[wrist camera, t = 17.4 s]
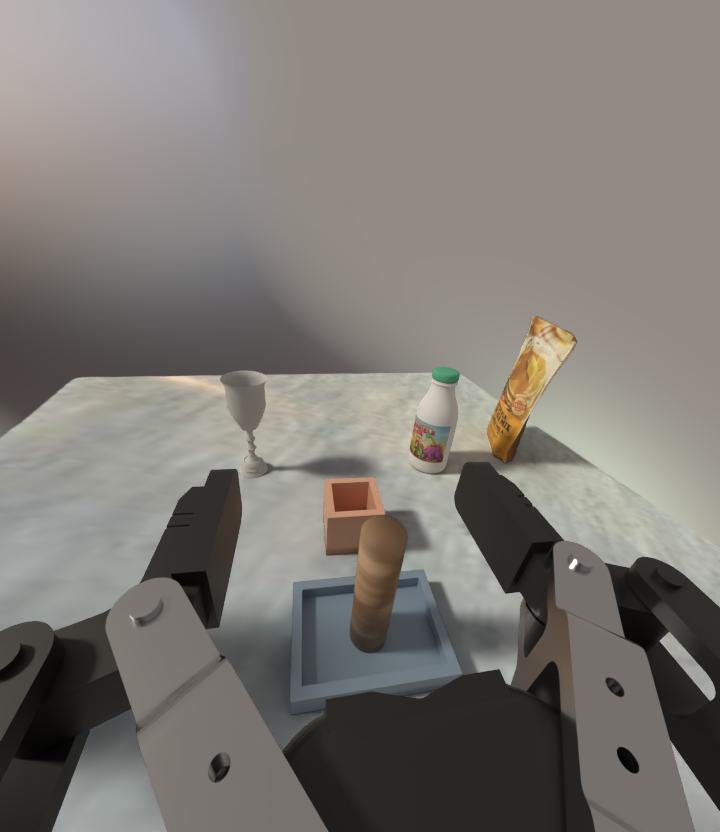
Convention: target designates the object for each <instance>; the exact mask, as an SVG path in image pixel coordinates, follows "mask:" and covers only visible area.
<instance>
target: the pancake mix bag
mask: <svg viewBox="0 0 720 832" xmlns="http://www.w3.org/2000/svg"><path fill="white" fill-rule="evenodd" d="M576 343H577V340H576V338H575V336H574V335H573V334H572V333H571V332H569V331H567V330H565V329H563V328H560V327H559V326H557V325H556V324H554V323H552V322H550V321H548V320H545V319H543V318H540V317H537V316H536V317H533V318H531V322H530V326H529V329H528V332H527V335H526V337H525V340H524V343H523V345H522V348H521V350H520V353H519V355H518V358H517V360H516V364H515V366H514V368H513V370H512V373H511V375H510V377H509V379H508V381H507V383H506V386H505V388H504V391H503V393H502V395H501V398H500V400H499V402H498V404H497V407H496V409H495V411H494V414H493V416H492V418H491V420H490V422H489V425H488V431H487V434H488V437H489V441H490V444H491V448H492V452H493V454H494V456H495V457H498V458H500V459H502V460H503V462H504V463H506V462H509V461H512V460H513V458H514V456H515V453H516V449H517V447H518V444H519V442H520V439H521V436H522V434H523V432H524V429H525V426H526V423H527V421H528V418H529V416H530V413H531V411H532V410H533V408H534V407H535V405H536V403H537V401H538V400H539V398H540V397H541V396H542V394H543V393H544V391H545V390H546V388H547V386H548V385H549V383H550V382H551V380H552V378H553V377H554V375H555V374H556V373H557V371H558V370H559V368H560V367H561V366H562V365H563V363H564V362H565V361H566V360H567V358H568V357H569V355H570V354H571V352H572V351H573V349H574V347H575V345H576Z"/></svg>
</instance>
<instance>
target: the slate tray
mask: <svg viewBox="0 0 720 832" xmlns="http://www.w3.org/2000/svg"><path fill="white" fill-rule="evenodd" d="M355 579H356V576H352V577H342V578H332V579H322V580H312V581H302V582H293V613H292V646H291V680H290V713H291V715H294V714H300V713H305V712H311V711H317V710H323V709H325V701H326V699H331V698H337V697H343V696H348V695H354V694H360V693H366V692H371V691H373V692H379V693H385V694H391V695H397V696H404V695H409V694H415V693H421V692H427V691H433V690H438V689H439V688H441V687H443V686H444V685H446V684H448V683H449V682H451V681H453V680H454V679H456V678H458V677H459V676H462V671H461V668H460V666H459V663H458V660H457V658H456V655H455V652H454V650H453V647H452V644H451V642H450V639H449V636H448V634H447V631H446V628H445V626H444V623H443V620H442V618H441V615H440V612H439V610H438V607H437V604H436V602H435V599H434V596H433V593H432V591H431V588H430V585H429V583H428V580H427V577H426V575H425V572H424V569H422V570H412V571H402V572H400V576H399V581H398V586H397V590H396V595H395V600H394V604H393V609H392V614H391V618H390V623H389V628H388V632H387V637H386V641H385V644H384V645H383V647H382V648H381V649H380V650H378V651H377V652H374V653H364V652H362V651H360V650H358V649H357V648H356V647H355V646H354V644H353V643H352V641H351V638H350V623H351V614H352V605H353V596H354V587H355Z"/></svg>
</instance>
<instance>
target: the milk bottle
mask: <svg viewBox="0 0 720 832" xmlns="http://www.w3.org/2000/svg"><path fill="white" fill-rule="evenodd" d="M459 375H460V374H459V372H458V371H456V370H455V369H452V368H448V367H436V368H434V370H433V373H432V379H431V380H432V385H431V387H430V389H429V391H428V392H427V394H426V395H425V396H424V398H423V399H422V401H421V402H420V404H419V407H418V410H417V414H416V418H415V424H414V429H413V434H412V440H411V445H410V451H409V457H408V459H409V462H410V464H411V465H412V466H413V467H414V468H415V469H417V470H419V471H421V472H424V473H430V474H435V473H439V472H441V471H443V470H444V469H445V467H446V464H447V461H448V457H449V453H450V449H451V445H452V441H453V437H454V433H455V429H456V424H457V419H458V406H457V401H456V397H455V386H456V385H457V384H458V383H457V382H458V380H459Z"/></svg>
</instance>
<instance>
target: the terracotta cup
mask: <svg viewBox="0 0 720 832" xmlns="http://www.w3.org/2000/svg"><path fill="white" fill-rule="evenodd" d="M385 515H386V514H385V511H384V507H383V504H382V501H381V498H380V494H379V491H378V488H377V485H376V481H375V478H374V477H365V478H342V479H324V501H323V519H324V532H325V546H326V555H335V554H347V553H358V552H359V543H360V535H361V528H362V525H363V524H364V523H365V521H367V520H368V519H370V518H372V517H375V516H385Z"/></svg>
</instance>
